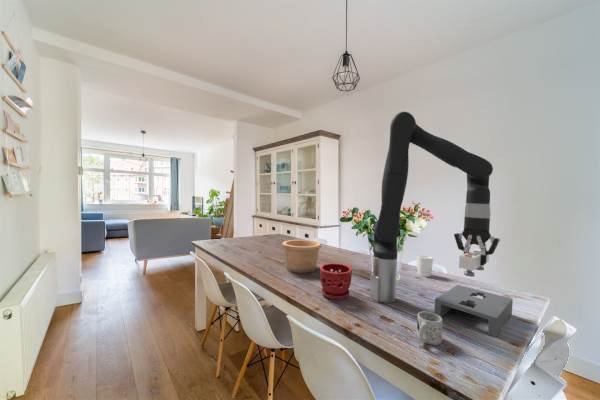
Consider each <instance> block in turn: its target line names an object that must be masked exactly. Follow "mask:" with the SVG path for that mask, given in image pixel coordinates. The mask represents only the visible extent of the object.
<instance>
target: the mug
mask: <svg viewBox="0 0 600 400" xmlns="http://www.w3.org/2000/svg"><path fill="white" fill-rule="evenodd" d="M416 323H417V324H416V325H417V327H416V328H417V329H416V338H417V339H418V340H419V341H418V342H419V343H425V344H426V345H432V346H438V345H441V344H442V340H443V339H442V337H443V336H442V335H443V318H442V317H440V316H439V315H437V314H434V312H430V311H419V312H418V313H417V322H416Z"/></svg>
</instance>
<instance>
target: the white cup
mask: <svg viewBox="0 0 600 400" xmlns="http://www.w3.org/2000/svg"><path fill="white" fill-rule="evenodd" d="M433 262H434V257H432V256H429V255H425V254H424V255H422V254H420V255H419V254H418V255H417V256H416V270H417V271H416V272H417V275H418V276H420V277H424V278H431V276H432V272H433V265H434V263H433Z"/></svg>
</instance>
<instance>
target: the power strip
mask: <svg viewBox="0 0 600 400" xmlns="http://www.w3.org/2000/svg"><path fill="white" fill-rule="evenodd" d="M481 255H482V254H481V250H480V248H476V249H473V250H471V251H469V252H468V253H466V254H464V253H463V254H461V255H459V257H458V258H459V260H458V261H459V263H458V269H463V270H464V271H463V275H464V276H467V277H470V278H471V277H475V272H473V271H474V270H476V271H484V270H485V266H481V265H480V262H481ZM489 258H490V255H487V261H486V264H487V263H488V262H489V261H490V259H489Z"/></svg>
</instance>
